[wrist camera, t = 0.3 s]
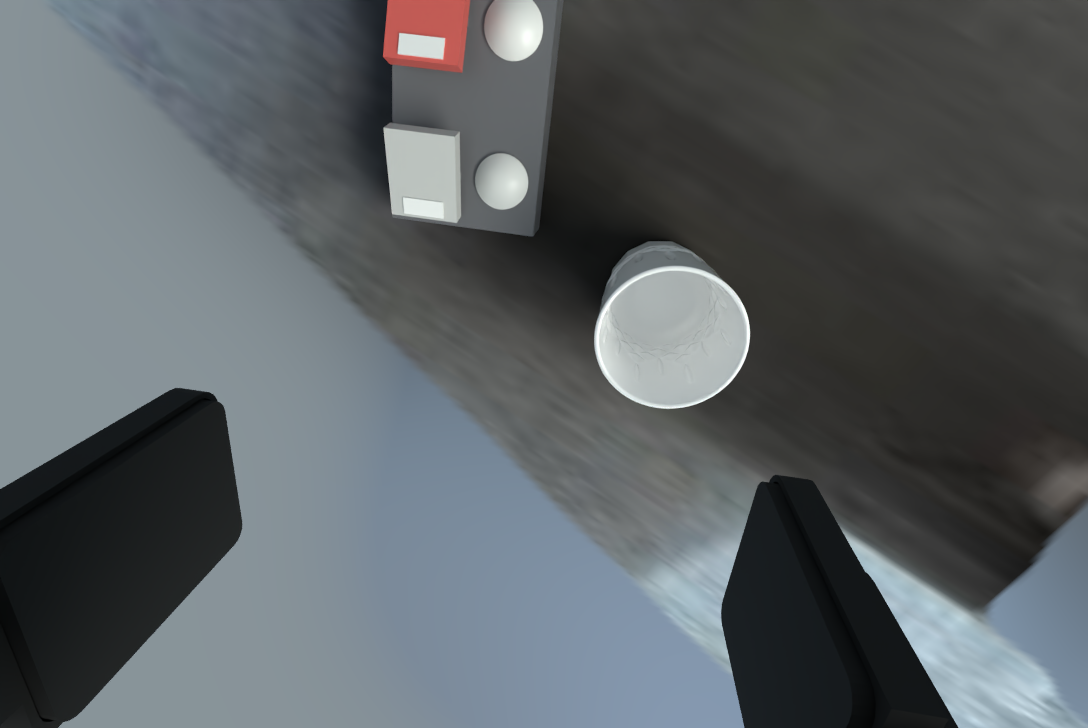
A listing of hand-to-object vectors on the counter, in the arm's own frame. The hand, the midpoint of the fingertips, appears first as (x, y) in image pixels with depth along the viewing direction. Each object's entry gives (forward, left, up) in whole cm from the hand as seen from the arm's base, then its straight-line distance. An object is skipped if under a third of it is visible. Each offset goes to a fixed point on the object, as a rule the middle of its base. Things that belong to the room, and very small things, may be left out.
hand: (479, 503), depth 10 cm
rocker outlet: (-3, -9, -25) cm, 27 cm away
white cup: (+3, +6, -30) cm, 30 cm away
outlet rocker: (-11, -9, -25) cm, 29 cm away
